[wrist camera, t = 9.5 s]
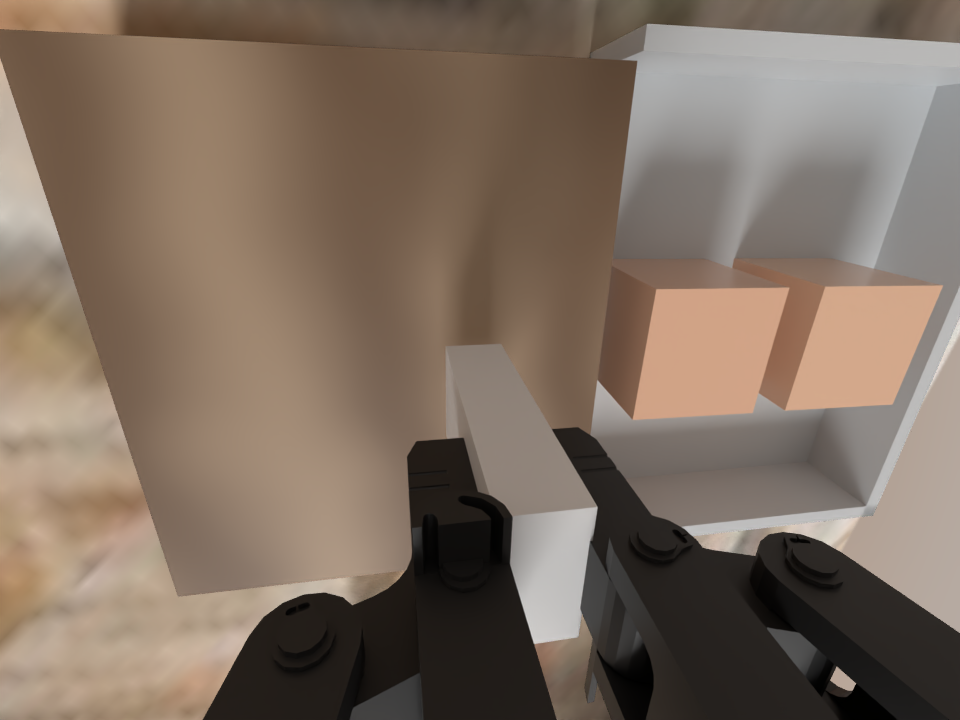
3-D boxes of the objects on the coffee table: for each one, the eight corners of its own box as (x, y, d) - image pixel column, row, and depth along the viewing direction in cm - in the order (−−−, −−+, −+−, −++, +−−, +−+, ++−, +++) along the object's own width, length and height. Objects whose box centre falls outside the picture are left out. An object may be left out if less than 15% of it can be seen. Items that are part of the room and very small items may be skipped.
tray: (550, 487, 23) (579, 549, 20) (590, 53, 16) (647, 23, 12) (804, 463, 25) (873, 515, 22) (940, 70, 18) (1076, 50, 14)
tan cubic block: (892, 404, 18) (799, 357, 22) (943, 285, 16) (831, 258, 20) (785, 410, 17) (709, 360, 21) (825, 286, 15) (734, 258, 19)
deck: (226, 498, 21) (178, 596, 16) (120, 68, 14) (-10, 28, 10) (540, 471, 23) (576, 550, 18) (570, 86, 16) (637, 61, 12)
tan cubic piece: (682, 361, 21) (584, 365, 20) (705, 258, 19) (598, 258, 18) (752, 413, 17) (632, 420, 16) (789, 287, 15) (656, 289, 14)
